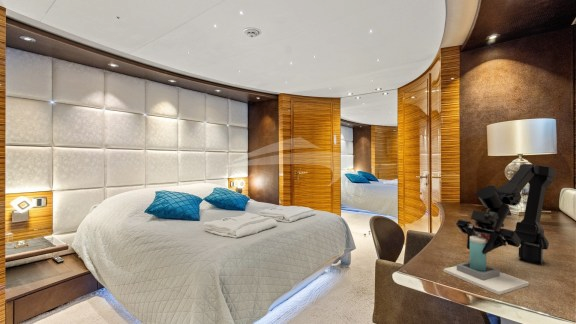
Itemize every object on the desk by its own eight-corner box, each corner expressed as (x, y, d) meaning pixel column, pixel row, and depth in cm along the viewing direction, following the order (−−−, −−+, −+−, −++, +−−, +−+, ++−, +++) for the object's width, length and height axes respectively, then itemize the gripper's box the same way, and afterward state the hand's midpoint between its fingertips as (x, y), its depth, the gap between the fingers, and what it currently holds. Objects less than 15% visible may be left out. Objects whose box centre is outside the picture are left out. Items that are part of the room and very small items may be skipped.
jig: (471, 264, 101) (471, 257, 101) (528, 285, 85) (529, 276, 85) (443, 271, 95) (443, 263, 95) (499, 295, 79) (499, 285, 79)
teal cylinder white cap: (485, 267, 93) (485, 237, 93) (487, 272, 89) (487, 240, 89) (468, 265, 95) (469, 235, 95) (470, 269, 91) (470, 238, 91)
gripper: (459, 198, 102) (439, 229, 98) (516, 206, 85) (495, 244, 81) (472, 216, 105) (453, 247, 101) (529, 228, 88) (510, 266, 84)
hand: (475, 250), depth 91 cm, fingers closed on teal cylinder white cap, 5 cm apart
